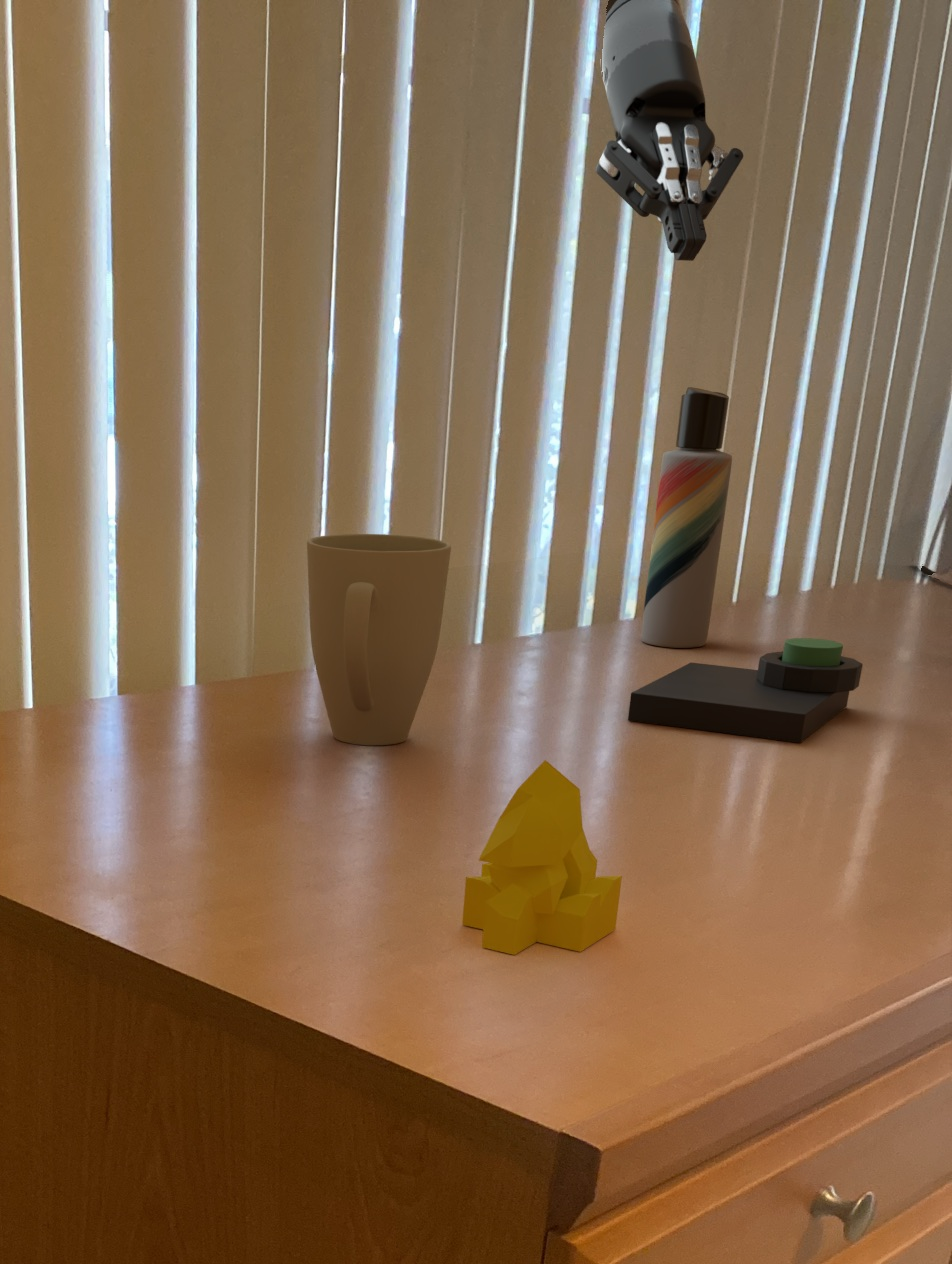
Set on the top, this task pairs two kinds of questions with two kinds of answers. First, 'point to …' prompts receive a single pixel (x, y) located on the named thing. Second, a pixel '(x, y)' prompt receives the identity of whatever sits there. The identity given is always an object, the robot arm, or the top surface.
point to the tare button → (812, 652)
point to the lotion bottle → (688, 525)
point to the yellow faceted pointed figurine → (541, 873)
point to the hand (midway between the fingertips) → (690, 252)
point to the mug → (375, 629)
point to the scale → (749, 698)
